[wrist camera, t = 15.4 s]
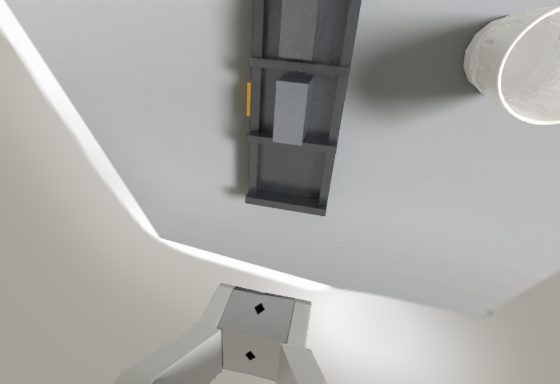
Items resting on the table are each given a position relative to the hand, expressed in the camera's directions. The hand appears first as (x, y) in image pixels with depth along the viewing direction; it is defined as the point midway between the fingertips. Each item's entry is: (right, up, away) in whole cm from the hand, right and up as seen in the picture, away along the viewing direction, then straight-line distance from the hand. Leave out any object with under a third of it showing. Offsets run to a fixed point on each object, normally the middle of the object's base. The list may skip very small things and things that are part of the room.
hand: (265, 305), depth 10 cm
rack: (+3, +14, +26) cm, 29 cm away
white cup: (+22, +17, +20) cm, 34 cm away
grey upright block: (+2, +13, +25) cm, 28 cm away
